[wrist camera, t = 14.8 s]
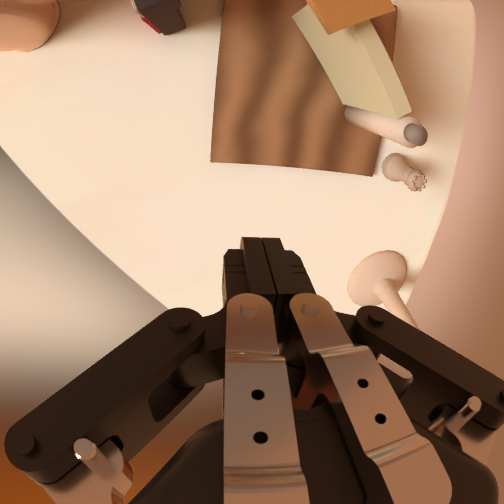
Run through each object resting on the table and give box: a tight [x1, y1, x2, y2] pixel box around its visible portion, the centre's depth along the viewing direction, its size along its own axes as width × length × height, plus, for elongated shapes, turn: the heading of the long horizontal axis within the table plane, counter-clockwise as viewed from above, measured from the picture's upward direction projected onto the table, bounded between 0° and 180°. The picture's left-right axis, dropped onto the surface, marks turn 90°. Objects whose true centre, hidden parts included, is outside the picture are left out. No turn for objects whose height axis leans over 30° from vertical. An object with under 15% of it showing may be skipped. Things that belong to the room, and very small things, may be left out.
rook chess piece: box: [382, 153, 427, 191], centre depth 40 cm, size 4×4×8 cm
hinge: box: [292, 4, 428, 148], centre depth 27 cm, size 18×3×16 cm, turn 31°
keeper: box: [306, 0, 396, 35], centre depth 24 cm, size 7×5×18 cm
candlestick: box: [347, 251, 419, 329], centre depth 43 cm, size 13×13×30 cm
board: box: [210, 0, 397, 177], centre depth 34 cm, size 24×28×1 cm
